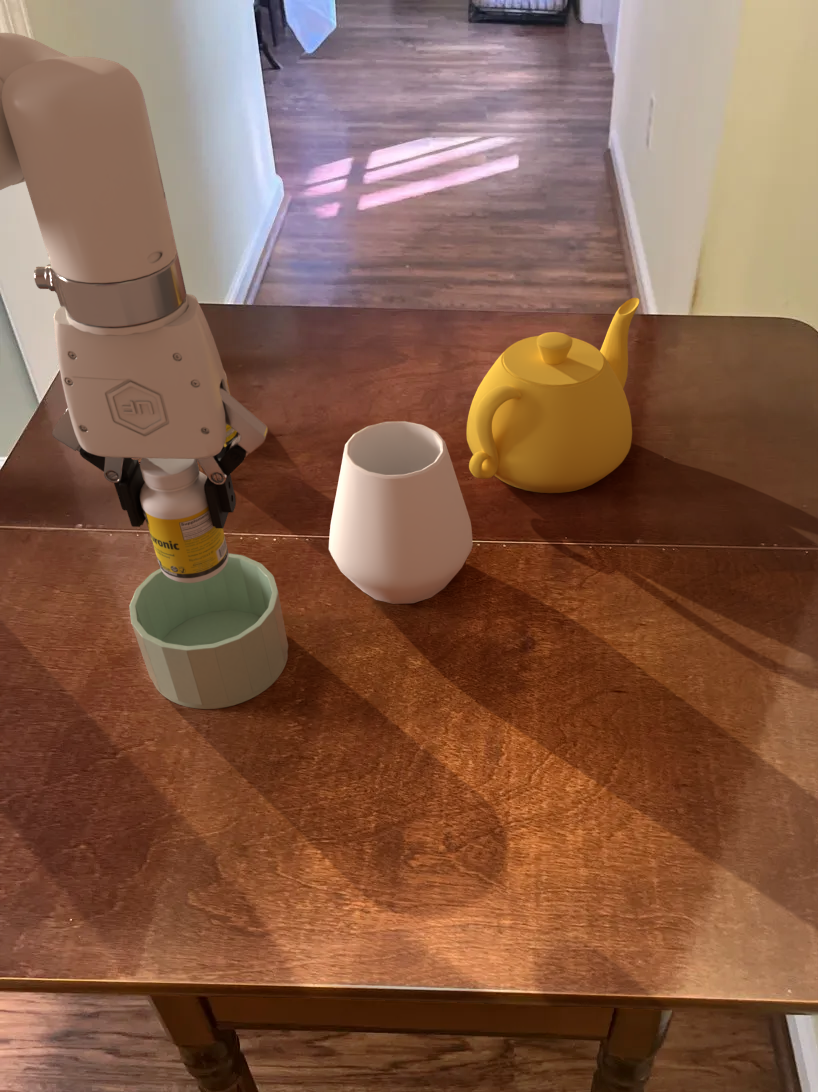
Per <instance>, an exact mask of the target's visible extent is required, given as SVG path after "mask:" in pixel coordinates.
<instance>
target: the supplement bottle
mask: <svg viewBox="0 0 818 1092" xmlns="http://www.w3.org/2000/svg"><path fill="white" fill-rule="evenodd" d="M140 459H141V460H140V461H139V464H140V468H141V472H142V476H143V479H144V481H145V483H144V485H143V486H142V488H141V491H140V502H141V506H142V510H143V513H144V516H145V522H146V526H147V529H148V533H149V536H150V540H151V542H152V546H153V550H154V553H155V556H156V560H157V562H158V563H157V564H159V569H160V568H161V570H162V572H163V573H164V574H165V575H166V576H167V577H168V578H170V579H172V580H174V581H178V582H183V583H195V582H200V581H204V580H207V579H209V578H211V577H213V576H215V575H217V574H218V573H219V572H220V571H222V570H223V568H224V567H225V566H226V564H227V562H228V553H229V549H228V544H227V539H226V535H225V531H224V528H215V527H214V526H213V525H212V521H211V516H210V512H209V508H208V504H207V499H206V495H205V491H204V484H205V482H206V479H207V475H206V473H204V472H201V471H200V466H199V462H198V461H197V459H158V458H140Z"/></svg>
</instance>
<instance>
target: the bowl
mask: <svg viewBox="0 0 818 1092" xmlns="http://www.w3.org/2000/svg"><path fill="white" fill-rule="evenodd" d="M128 608H129V615H130V616H129V617H130V623H131V626H132V629H133V632H134V635H135V639H136V641H137V643H138V647H139V650H140V653H141V656H142V659H143V662H144V664H145V668H146V670H147V673H148V674H147V675H148V676H149V678H150V680H151V682H152V684H153V685H154V688H155V689H156V690H157V691H158V692H159V694H161V695H162V696H163V697H164V698H166V699H167V700H169V701H171V702H172V703H174V704H177V705H178V706H182V707H186V708H190V709H196V710H197V709H198V710H216V709H224V708H229V707H233V706H236V705H240V704H242V703H245V702H247V701H249V700H251V699H253V698H255V697H257V696H259V695H260V694H263V693H264V692H265V691H266V690H267V689H269V688H270V687H271V686H272V685H273V684H274V683H275V682H276V681H277V680H278V679H279V677H280V676H281V674H282V673H283V672H284V669H285V667H286V665H287V661H288V658H289V642H288V637H287V631H286V625H285V620H284V614H283V610H282V605H281V600H280V593H279V590H278V586H277V583H276V579H275V576H274V575H273V574H272V572H270V570H268V569H267V568H266V566H265V565H264V564H263V563H261V562H258V560H257V561H256V560H255V559H252V558H250V557H248V556H246V555H242V554H237V553H230V552H228V562H227V564H226V566H225V567H224V568H223V570H222V571H220V572H219V573H218V574H217V575H215V576H213V577H211V578H209V579H207V580H204V581H200V582H195V583H183V582H178V581H174V580H172V579H170V578H168V577H167V576H166V575H165V574H164V573H163V572H162V570H161V568H160V567H159V568H158V569H157V570H154V571H153V572H152V573H151V572H150V574H149V575H148V576H147V577H146V578H145V579H144V580H143V581H142V582H141V583H140V584H139V585H138V586H137V587H136V588H135V591H134V593H133V597H132V599H131V601H130V603H129V606H128Z"/></svg>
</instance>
